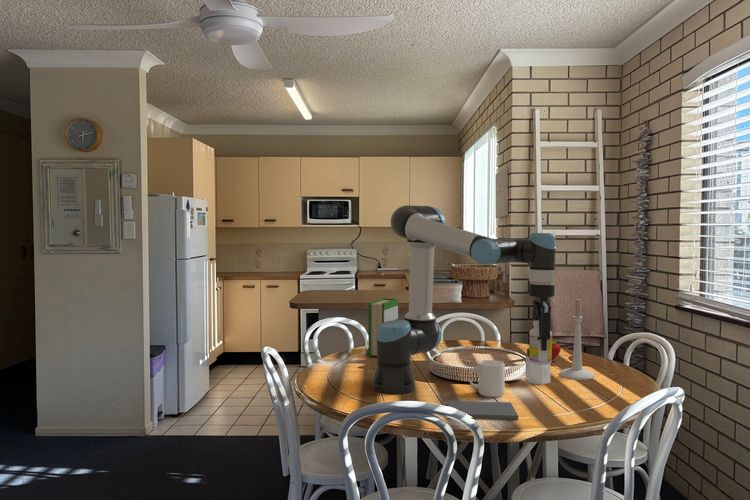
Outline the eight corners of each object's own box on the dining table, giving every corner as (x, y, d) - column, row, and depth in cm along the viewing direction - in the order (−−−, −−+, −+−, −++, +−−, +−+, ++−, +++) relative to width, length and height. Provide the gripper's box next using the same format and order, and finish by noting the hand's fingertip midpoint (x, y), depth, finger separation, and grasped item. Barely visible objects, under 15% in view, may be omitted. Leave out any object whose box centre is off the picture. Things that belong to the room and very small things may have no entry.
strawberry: (561, 363, 240) (562, 339, 240) (543, 362, 241) (543, 338, 241) (559, 359, 246) (559, 336, 246) (541, 359, 247) (541, 336, 247)
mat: (450, 417, 170) (450, 413, 170) (447, 404, 183) (447, 400, 183) (518, 419, 168) (518, 415, 168) (510, 406, 181) (510, 402, 181)
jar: (538, 386, 205) (538, 352, 204) (521, 380, 212) (521, 348, 211) (554, 382, 210) (555, 350, 209) (537, 377, 217) (537, 346, 216)
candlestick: (570, 380, 212) (571, 300, 211) (553, 372, 225) (554, 296, 224) (601, 379, 215) (603, 299, 213) (582, 370, 227) (584, 296, 226)
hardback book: (383, 358, 248) (384, 303, 247) (368, 356, 251) (368, 302, 250) (397, 350, 265) (398, 298, 264) (383, 349, 267) (383, 298, 267)
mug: (470, 388, 201) (470, 358, 201) (504, 391, 198) (505, 360, 197) (467, 395, 193) (467, 364, 192) (503, 398, 190) (503, 366, 189)
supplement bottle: (547, 360, 178) (548, 319, 178) (554, 365, 172) (555, 323, 171) (526, 360, 178) (526, 319, 178) (532, 365, 172) (533, 323, 171)
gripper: (562, 286, 164) (560, 366, 165) (546, 280, 183) (545, 351, 184) (536, 286, 164) (534, 365, 165) (523, 280, 184) (521, 350, 185)
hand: (540, 357), depth 175 cm, fingers closed on supplement bottle, 7 cm apart
